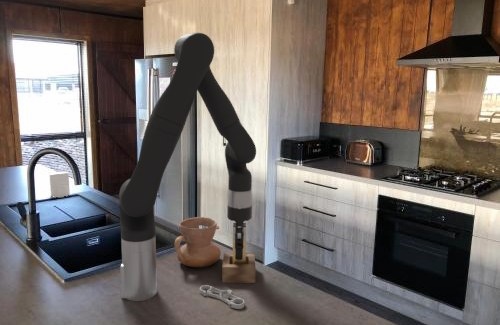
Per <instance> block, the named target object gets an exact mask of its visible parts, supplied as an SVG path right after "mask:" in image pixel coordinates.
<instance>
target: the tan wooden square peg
mask: <svg viewBox="0 0 500 325" xmlns="http://www.w3.org/2000/svg"><path fill="white" fill-rule="evenodd" d="M235 232H236V230H235ZM237 244H241V243H237ZM241 245H242V244H241ZM243 246H244V248H243V259H242V260H236V259H235V241H234V231H233V230H232V254H233V264H246V254H247V230H246V231H245V240H244V241H243Z"/></svg>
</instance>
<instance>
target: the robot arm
mask: <svg viewBox="0 0 500 325" xmlns="http://www.w3.org/2000/svg"><path fill="white" fill-rule="evenodd" d="M173 52H174V56H175V58H176V61H177V63H176V67H175V70H174V72H173V75H172V78H171V80H170V81H169V83H168V85H167V87H166V88H165V89H164V91H163V92H162V93H161V95H160V96H159V98H158V100H157V102H156V103H155V105H154V107H153V109H152V111H151V114H150V117H149V118H148V121H147V123H146V127H145V129H144V133H143V138H142V142H141V144H140V150H139V151H140V152H139V156H138V160H137V163H136V166H135V168H134V170H133V172H132V175H131V177H130V178H128V179H126V180H125V182H123V183H122V185H121V186H120V189H119V193H118V196H119V198H118V199H119V216H120V217H119V219H120V220H119V222H120V239H121V241H120V243H121V260H122V261H121V264H120V266H119V270H120V272H119V273H120V297H121V299H126V300H128V301H132V302H140V301H141V302H142V301H146V300H150V299H152V298H153V297H155V296H156V295H157V294H158V283H157V281H158V279H157V278H158V277H157V274H158V273H157V246H156V245H157V243H156V242H157V241H156V240H157V239H156V236H157V235H156V222H155V207H154V206H155V204H156V201H157V198H158V194H159V190H160V186H161V182H162V179H163V176H164V173H165V170H166V168H167V166H168V165H169V162H170V160H171V158H172V156H173V153H174V151H175V149H176V147H177V144H178V142H179V140H180V138H181V135H182V134H183V130H184V128H185V125H186V123H187V119H188V116H189V114H190V111H191V109H192V105H193V103H194V100H195V98H196V95H197V92H198V94H199V95H200V97H201V100H202V101H203V103H204V105H205V107H206V110H207V111H208V114H209V115H210V117H211V120H212V121H213V123H214V126H215V128H216V130H217V131H218V133H219V135H220V136H221V137H222V138H224V139H225V140H226V141H227V143H226V145H225V148H224V149H225V150H224V158H225V163H226V170H227V173H228V187H227V188H228V190H227V206H226V207H227V211H226V214H227V219H228V220H229V221H232V222H233V224H232V232H233V231H234V241H235V259H236V260H242V259H243V248H244V246H243V241H244V240H245V231H246V232H247V223H246V222H248V221H250V220H252V218H253V193H252V188H253V187H252V185H253V184H252V182H253V181H252V178H253V177H252V172H251V171H250V170H249V169H248V167H247V164H250V163H251V162H253V161H254V160H255V159H256V157H257V156H256V155H257V147H256V144H255V142H254V140H253V138H252V137H251V136H250V134H249V133H248V131H247V130H246V128H245V127H244V125H243V124H242V122H241V120H240V117H239V116H238V113H237V112H236V110H235V107H234V105H233V103H232V101H231V100H230V98H229V97H228V95H227V94H226V92H225V91H224V89H223V87H221V85H220V84H219V83H218V81H217V79H216V78H215V75H214V73H213V72H212V68H211V64H212V62H213V60H214V57H215V45H214V43H213V40H212V39H211V38H210V37H209V36H208V35H207V34H205V33H202V32H192V33H186V34H183V35H181V36H180V37H179V38H178V39H177V40H176V42H175V44H174V49H173ZM235 230H236V232H235ZM237 243H241V244H242V245H241V244H237Z"/></svg>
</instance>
